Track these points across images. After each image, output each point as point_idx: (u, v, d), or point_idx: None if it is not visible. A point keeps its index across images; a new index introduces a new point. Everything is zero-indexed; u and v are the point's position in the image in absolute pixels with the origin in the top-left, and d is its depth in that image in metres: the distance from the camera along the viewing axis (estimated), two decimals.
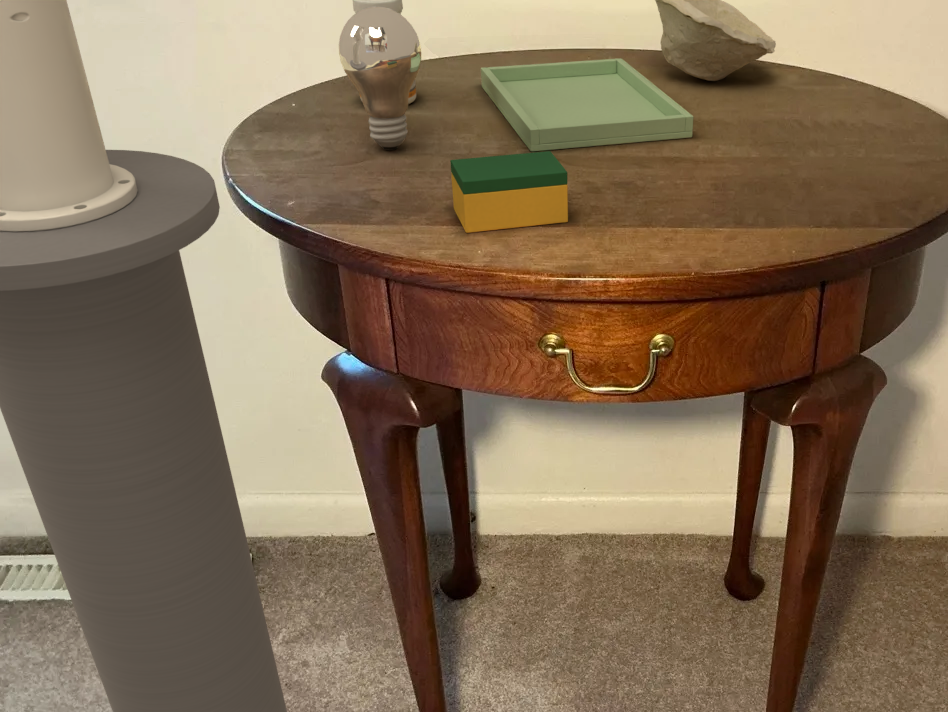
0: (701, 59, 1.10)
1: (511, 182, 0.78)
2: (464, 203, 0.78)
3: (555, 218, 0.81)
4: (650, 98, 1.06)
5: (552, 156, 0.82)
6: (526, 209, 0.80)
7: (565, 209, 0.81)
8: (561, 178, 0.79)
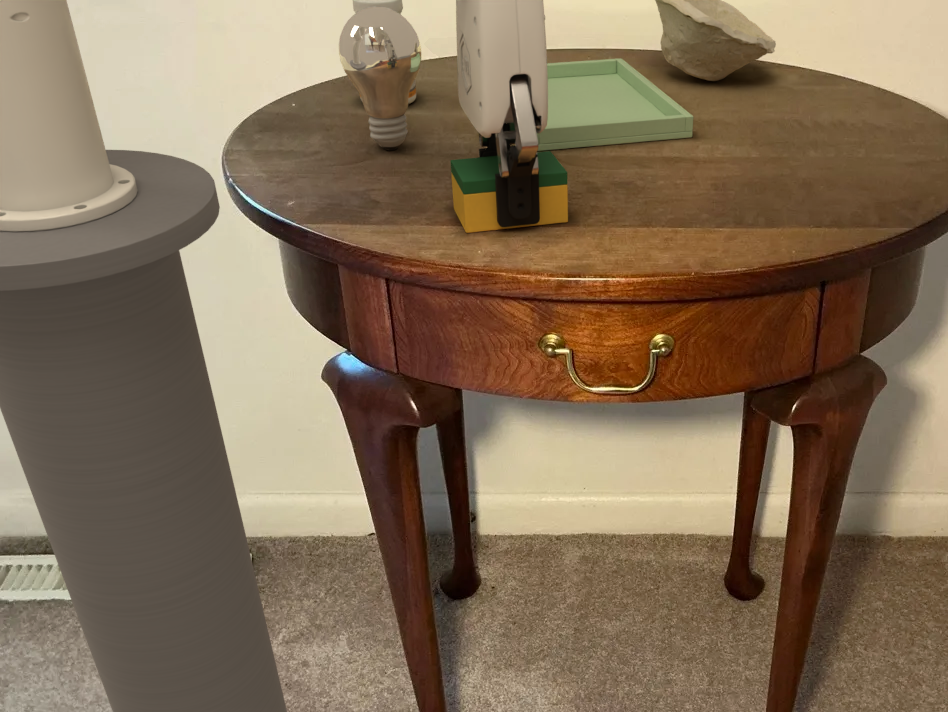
0: (701, 59, 1.10)
1: None
2: (464, 203, 0.78)
3: (555, 218, 0.81)
4: (650, 98, 1.06)
5: (552, 156, 0.82)
6: None
7: (565, 209, 0.81)
8: (561, 178, 0.79)
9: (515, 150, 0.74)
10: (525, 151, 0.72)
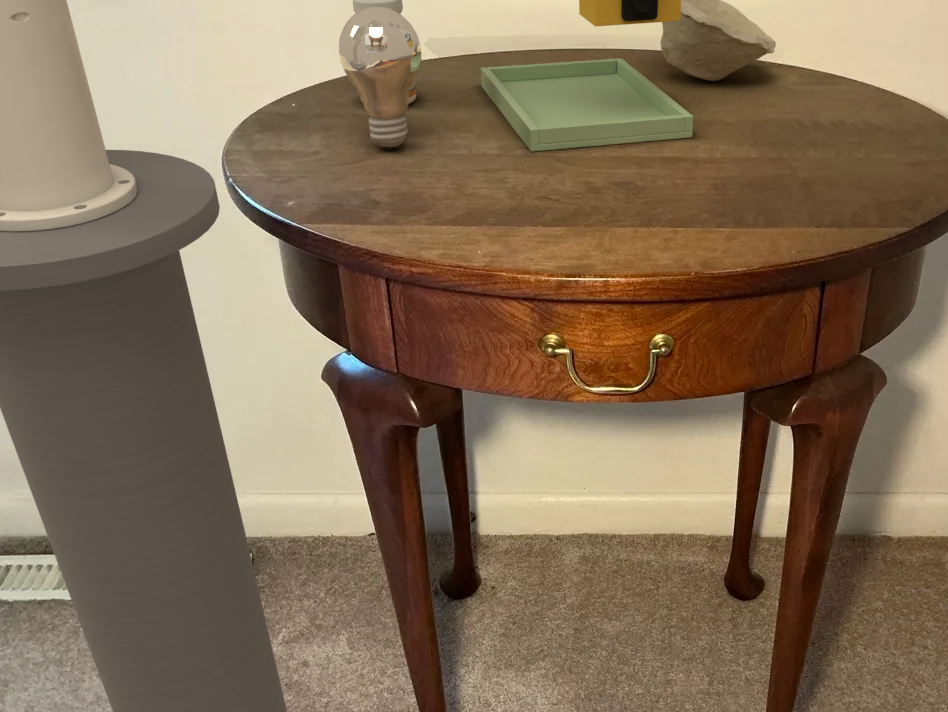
0: (701, 59, 1.10)
1: None
2: None
3: (669, 16, 0.94)
4: (650, 98, 1.06)
5: None
6: None
7: (679, 8, 0.93)
8: None
9: None
10: None
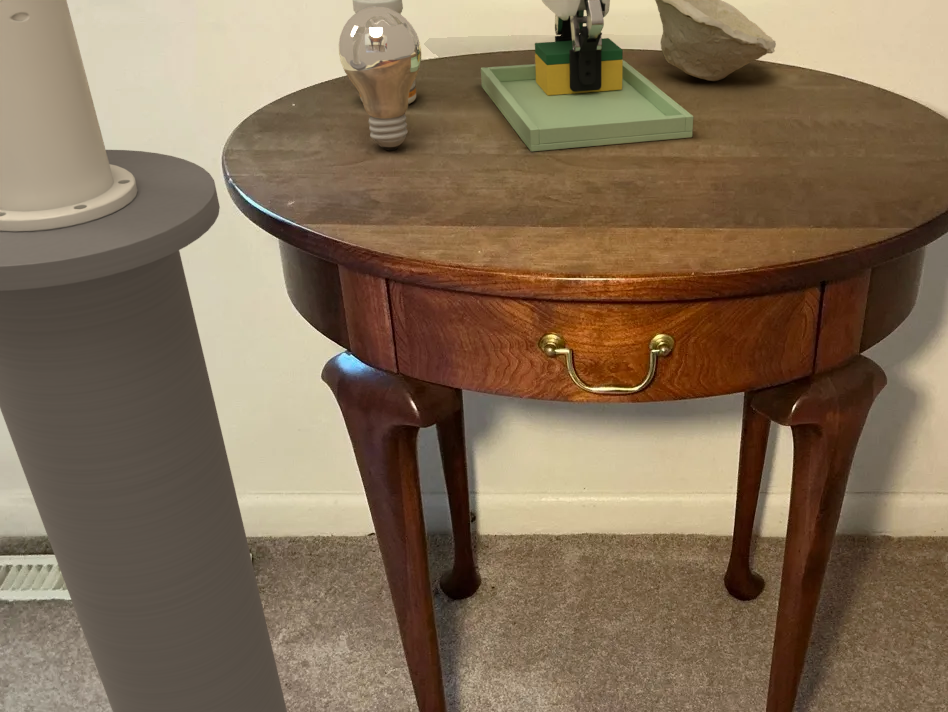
0: (701, 59, 1.10)
1: None
2: (547, 72, 1.06)
3: (612, 86, 1.08)
4: (650, 98, 1.06)
5: (610, 41, 1.09)
6: None
7: (620, 79, 1.08)
8: (618, 54, 1.07)
9: (586, 28, 1.01)
10: (594, 27, 1.00)
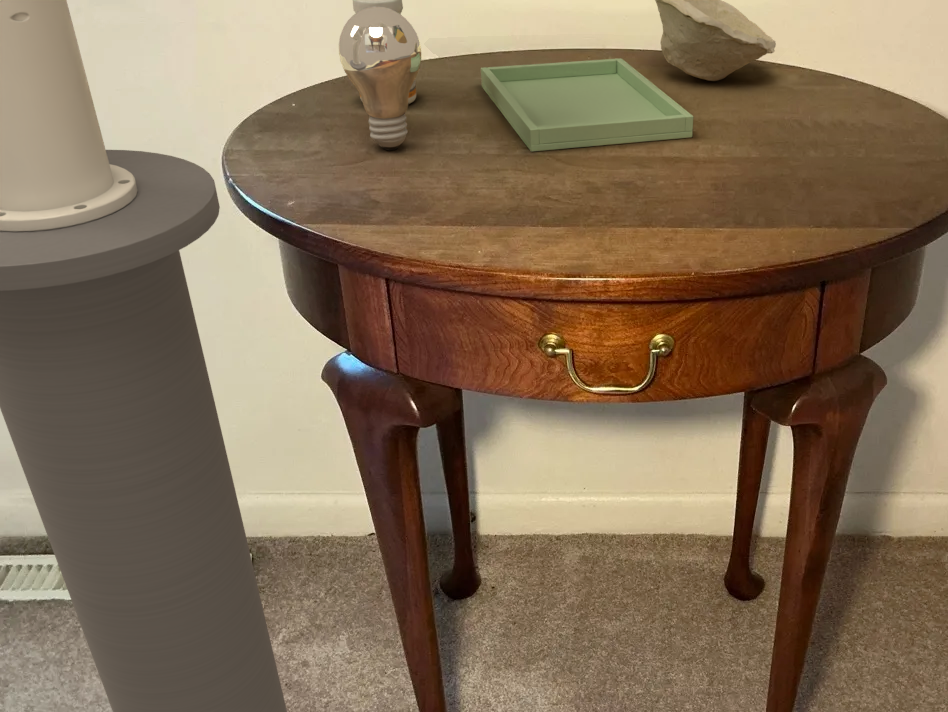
0: (701, 59, 1.10)
1: None
2: None
3: None
4: (650, 98, 1.06)
5: None
6: None
7: None
8: None
9: None
10: None
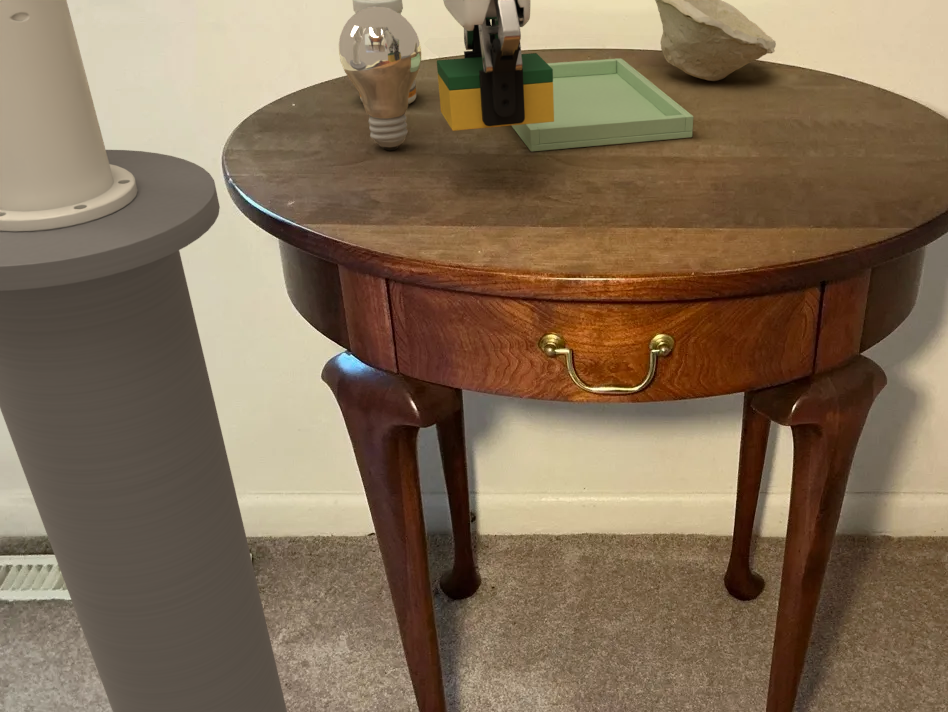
0: (701, 59, 1.10)
1: None
2: (450, 99, 0.78)
3: (541, 117, 0.81)
4: (650, 98, 1.06)
5: (538, 57, 0.82)
6: None
7: (551, 107, 0.81)
8: (546, 75, 0.80)
9: (498, 42, 0.74)
10: (508, 41, 0.73)
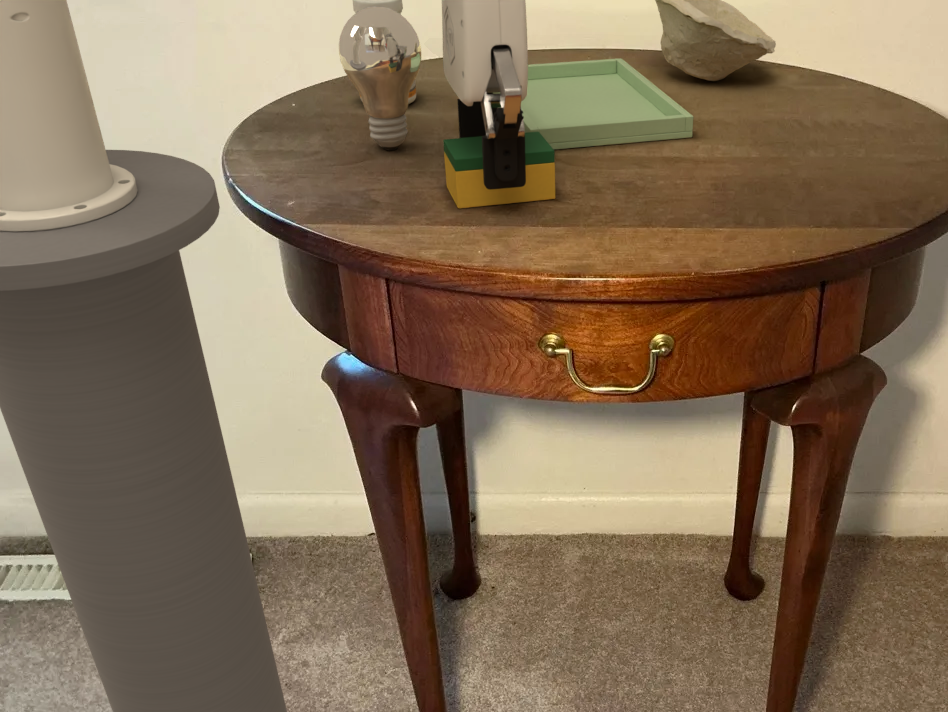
0: (701, 59, 1.10)
1: None
2: (456, 180, 0.82)
3: (543, 195, 0.85)
4: (650, 98, 1.06)
5: (540, 136, 0.86)
6: None
7: (553, 186, 0.85)
8: (548, 156, 0.83)
9: (501, 108, 0.75)
10: (509, 99, 0.74)
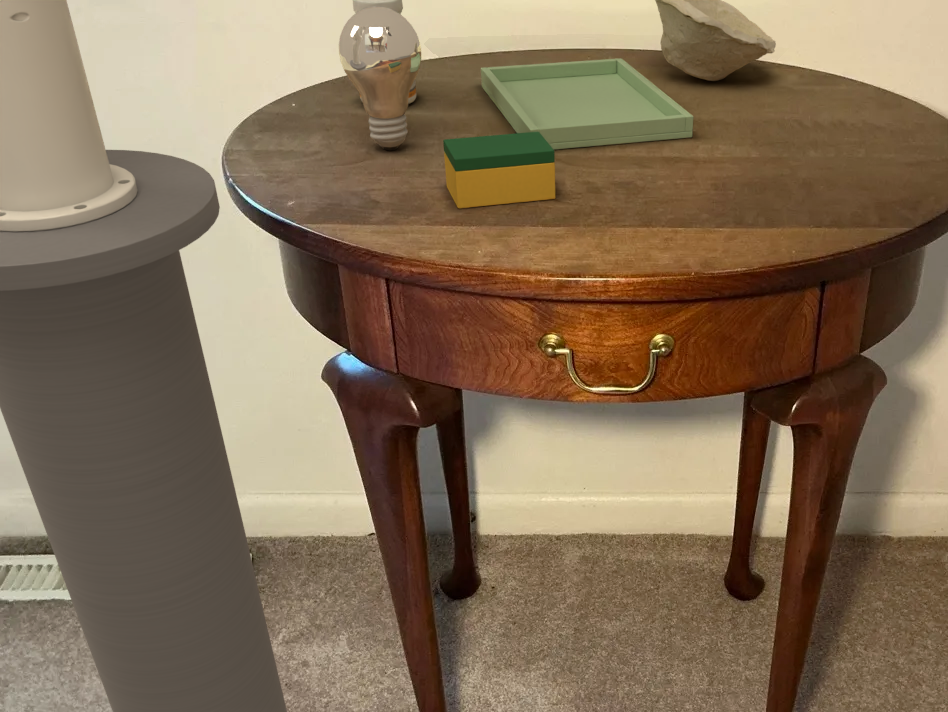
0: (701, 59, 1.10)
1: (501, 160, 0.82)
2: (456, 180, 0.82)
3: (543, 195, 0.85)
4: (650, 98, 1.06)
5: (540, 136, 0.86)
6: (515, 186, 0.84)
7: (553, 186, 0.85)
8: (548, 156, 0.83)
9: None
10: None
